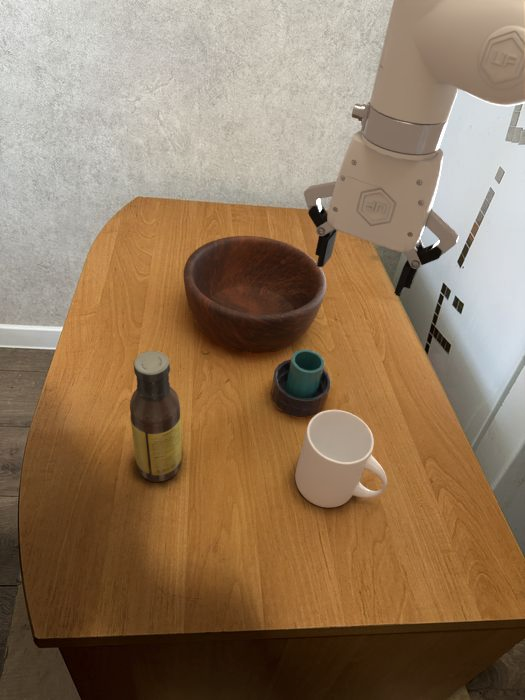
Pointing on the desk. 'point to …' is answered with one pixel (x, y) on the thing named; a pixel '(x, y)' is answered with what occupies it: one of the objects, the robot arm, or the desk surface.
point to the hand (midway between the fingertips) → (361, 275)
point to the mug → (336, 459)
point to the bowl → (296, 404)
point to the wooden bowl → (253, 292)
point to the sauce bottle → (155, 418)
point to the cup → (304, 374)
